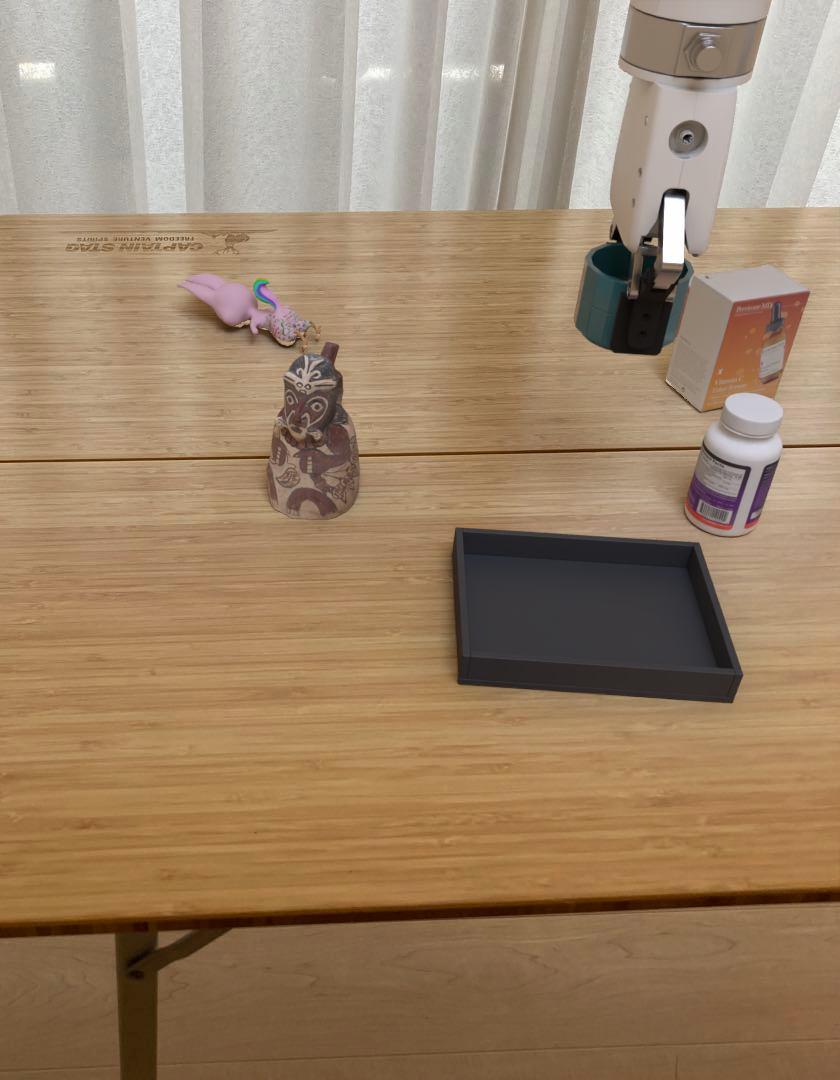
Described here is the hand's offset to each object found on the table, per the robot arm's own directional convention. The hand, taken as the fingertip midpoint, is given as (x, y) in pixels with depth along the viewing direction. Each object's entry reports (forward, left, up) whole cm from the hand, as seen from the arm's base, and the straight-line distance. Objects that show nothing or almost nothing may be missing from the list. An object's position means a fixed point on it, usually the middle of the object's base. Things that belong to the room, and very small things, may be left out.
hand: (626, 322), depth 75 cm
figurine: (+21, 0, -16) cm, 26 cm away
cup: (0, 0, -1) cm, 1 cm away
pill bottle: (-10, 0, -16) cm, 19 cm away
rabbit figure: (+29, -26, -16) cm, 42 cm away
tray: (+2, +13, -16) cm, 20 cm away
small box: (-14, -19, -16) cm, 29 cm away
